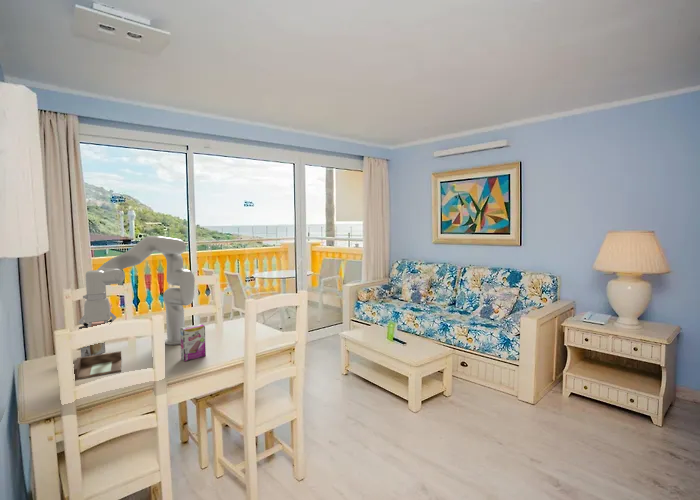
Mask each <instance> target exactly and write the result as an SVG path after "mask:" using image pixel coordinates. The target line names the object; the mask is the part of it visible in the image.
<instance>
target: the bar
mask: <svg viewBox="0 0 700 500" xmlns="http://www.w3.org/2000/svg"><path fill="white" fill-rule="evenodd" d="M101 324H105V323H104V321H100V322H92V325H91V327H93V326H97V325H101Z"/></svg>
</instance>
